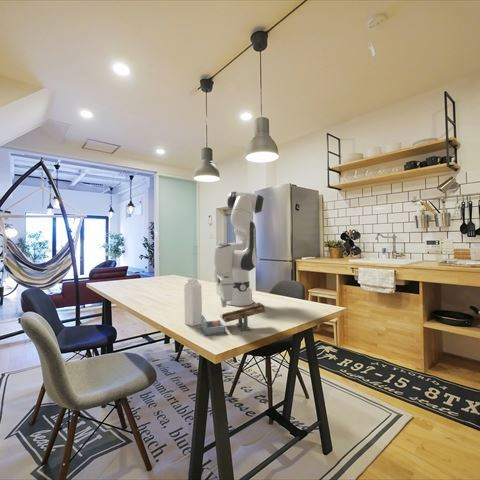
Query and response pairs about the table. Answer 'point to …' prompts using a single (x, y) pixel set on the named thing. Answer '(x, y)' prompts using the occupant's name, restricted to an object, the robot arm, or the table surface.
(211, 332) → the light blue open box
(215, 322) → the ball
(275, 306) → the table surface
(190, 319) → the milk
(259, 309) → the lever
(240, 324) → the pivot stand
